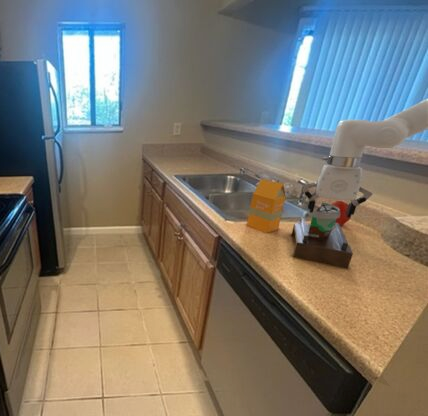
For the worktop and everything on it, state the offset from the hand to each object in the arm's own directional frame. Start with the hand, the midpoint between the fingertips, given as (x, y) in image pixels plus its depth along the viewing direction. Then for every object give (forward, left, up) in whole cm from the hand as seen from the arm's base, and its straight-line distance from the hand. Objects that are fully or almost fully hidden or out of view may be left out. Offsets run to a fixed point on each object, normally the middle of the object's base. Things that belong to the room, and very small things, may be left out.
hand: (328, 213), depth 90 cm
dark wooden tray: (0, 0, -14) cm, 14 cm away
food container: (0, 0, -9) cm, 8 cm away
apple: (-9, -31, -15) cm, 35 cm away
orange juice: (+17, -12, -15) cm, 26 cm away
